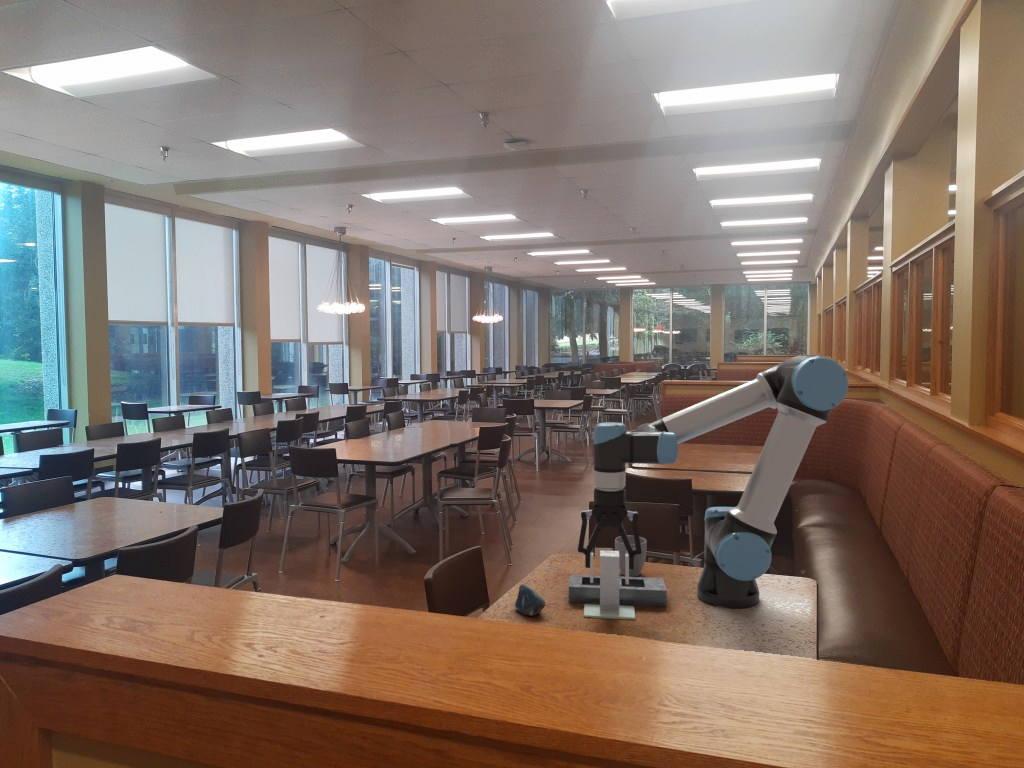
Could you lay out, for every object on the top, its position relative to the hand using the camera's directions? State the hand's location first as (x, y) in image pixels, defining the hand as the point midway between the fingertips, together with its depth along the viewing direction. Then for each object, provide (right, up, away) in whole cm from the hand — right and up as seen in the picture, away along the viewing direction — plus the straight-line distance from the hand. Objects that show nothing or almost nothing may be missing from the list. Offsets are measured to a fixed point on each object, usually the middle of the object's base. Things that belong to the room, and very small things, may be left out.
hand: (609, 581), depth 165 cm
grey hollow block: (+3, -7, +10) cm, 13 cm away
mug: (+10, -6, +27) cm, 29 cm away
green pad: (0, -8, +1) cm, 8 cm away
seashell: (-19, -8, +2) cm, 20 cm away
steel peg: (0, -7, +1) cm, 7 cm away
